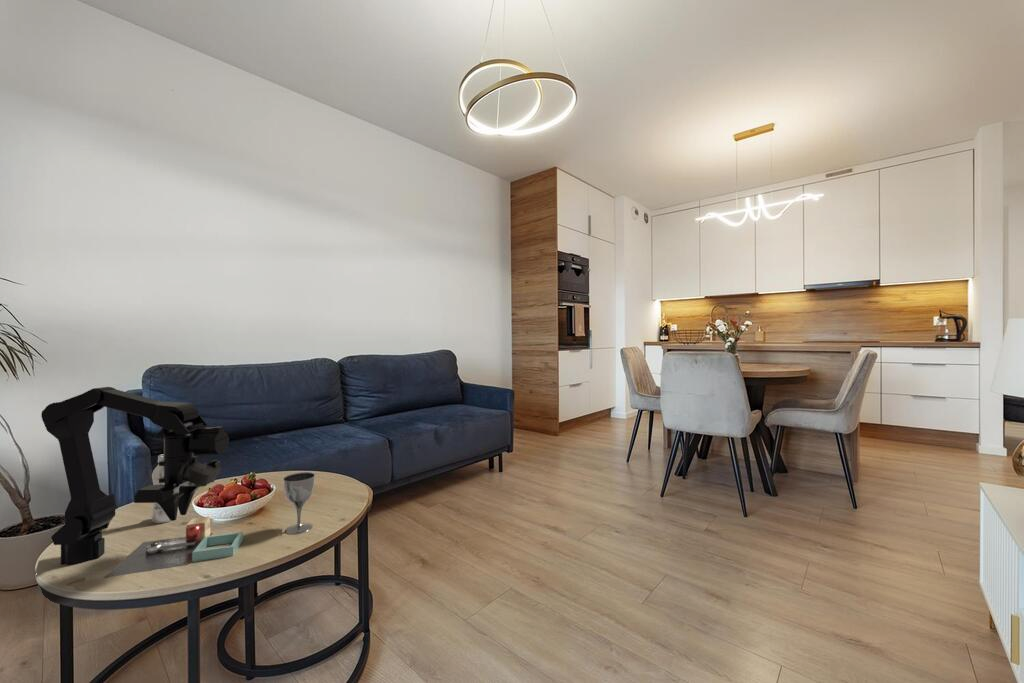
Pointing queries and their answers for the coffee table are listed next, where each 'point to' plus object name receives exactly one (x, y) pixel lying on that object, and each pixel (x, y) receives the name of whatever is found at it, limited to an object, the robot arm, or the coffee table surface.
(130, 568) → the bedplate
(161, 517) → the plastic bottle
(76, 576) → the coffee table surface
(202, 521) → the block
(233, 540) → the tray
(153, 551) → the crank
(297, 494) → the wine glass
